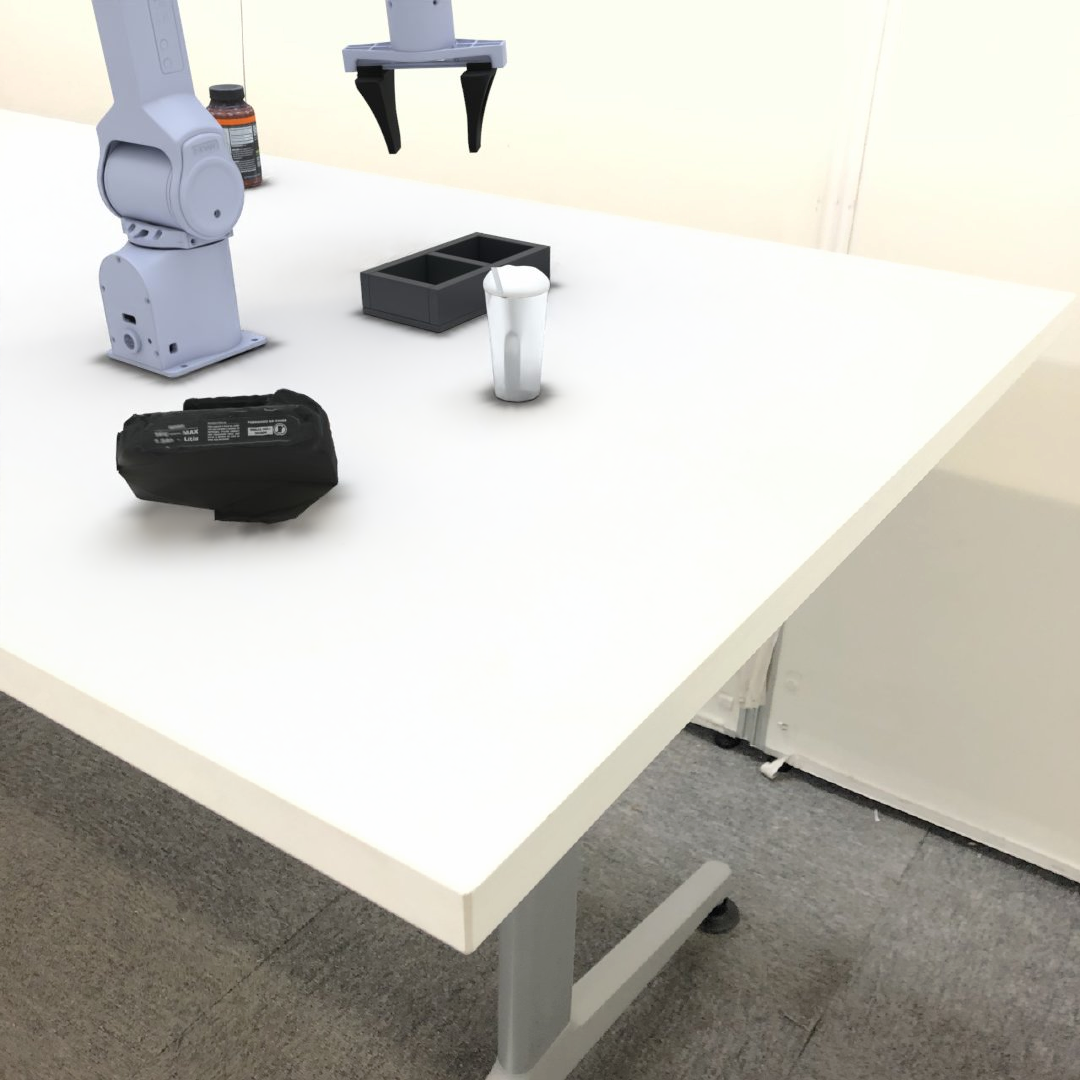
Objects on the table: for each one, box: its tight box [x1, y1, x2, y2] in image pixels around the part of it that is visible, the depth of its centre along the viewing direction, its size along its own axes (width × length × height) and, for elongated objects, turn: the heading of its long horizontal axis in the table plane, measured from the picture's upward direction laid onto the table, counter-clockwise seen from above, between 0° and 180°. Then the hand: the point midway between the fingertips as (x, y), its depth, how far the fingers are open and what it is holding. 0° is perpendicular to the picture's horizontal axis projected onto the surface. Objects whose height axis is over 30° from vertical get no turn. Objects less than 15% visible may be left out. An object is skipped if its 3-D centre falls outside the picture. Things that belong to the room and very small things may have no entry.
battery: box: [115, 387, 339, 525], centre depth 64 cm, size 12×8×7 cm
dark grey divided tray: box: [359, 231, 551, 333], centre depth 99 cm, size 8×16×4 cm, turn 145°
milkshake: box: [483, 265, 551, 403], centre depth 78 cm, size 4×5×10 cm
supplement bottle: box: [205, 83, 263, 189], centre depth 135 cm, size 6×6×11 cm
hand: (434, 150), depth 105 cm, fingers open, 7 cm apart
